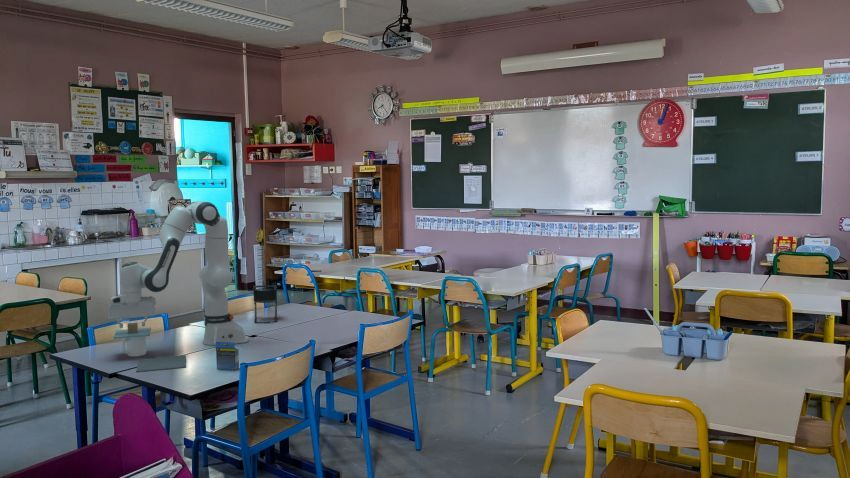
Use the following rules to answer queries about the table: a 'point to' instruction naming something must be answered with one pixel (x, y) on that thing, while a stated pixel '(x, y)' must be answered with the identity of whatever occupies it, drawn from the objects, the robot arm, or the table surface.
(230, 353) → the label tape cartridge
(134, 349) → the mug
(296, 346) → the table surface
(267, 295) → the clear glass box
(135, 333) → the lid
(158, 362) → the mat
